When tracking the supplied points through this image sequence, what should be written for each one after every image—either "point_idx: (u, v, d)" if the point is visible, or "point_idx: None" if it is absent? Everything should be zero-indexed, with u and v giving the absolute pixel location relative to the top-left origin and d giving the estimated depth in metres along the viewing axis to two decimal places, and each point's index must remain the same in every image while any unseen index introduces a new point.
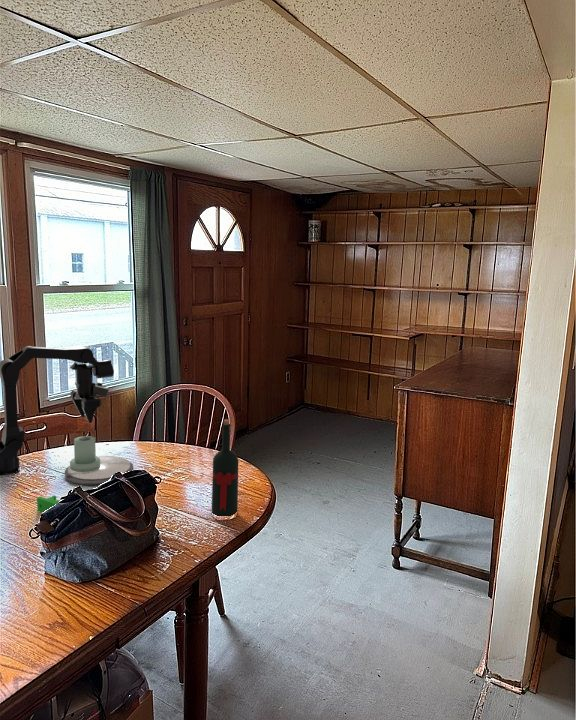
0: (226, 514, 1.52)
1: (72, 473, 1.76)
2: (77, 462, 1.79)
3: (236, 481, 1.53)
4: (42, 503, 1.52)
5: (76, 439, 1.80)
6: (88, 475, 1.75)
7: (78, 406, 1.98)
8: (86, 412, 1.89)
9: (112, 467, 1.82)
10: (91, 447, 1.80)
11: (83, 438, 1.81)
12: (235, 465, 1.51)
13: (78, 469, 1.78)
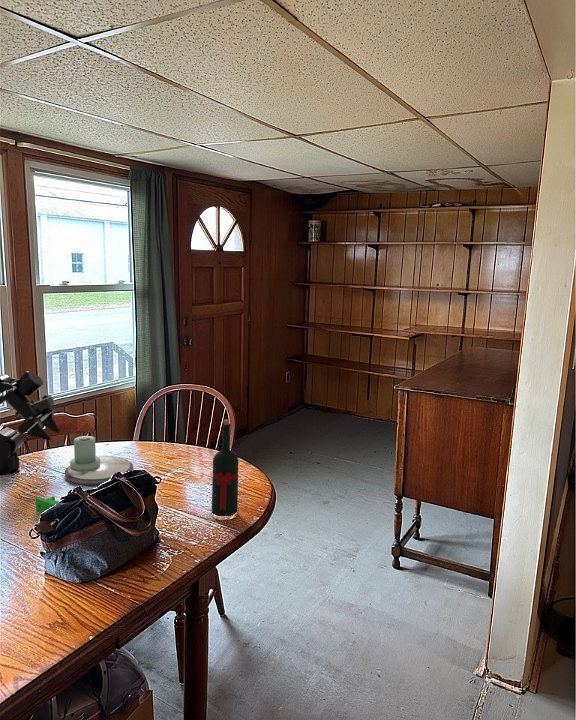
0: (226, 514, 1.52)
1: (72, 473, 1.76)
2: (77, 462, 1.79)
3: (236, 481, 1.53)
4: (41, 504, 1.51)
5: (76, 439, 1.80)
6: (88, 475, 1.75)
7: (47, 426, 1.84)
8: (34, 434, 1.74)
9: (112, 467, 1.82)
10: (91, 447, 1.80)
11: (83, 438, 1.81)
12: (235, 465, 1.51)
13: (78, 469, 1.78)
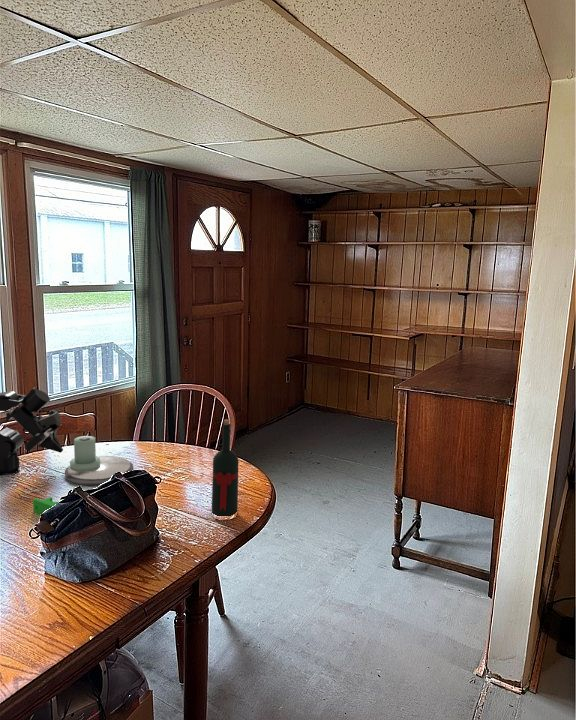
0: (226, 514, 1.52)
1: (72, 473, 1.76)
2: (77, 462, 1.79)
3: (236, 481, 1.53)
4: (38, 505, 1.51)
5: (76, 439, 1.80)
6: (88, 475, 1.75)
7: None
8: (46, 447, 1.79)
9: (112, 467, 1.82)
10: (91, 447, 1.80)
11: (83, 438, 1.81)
12: (235, 465, 1.51)
13: (78, 469, 1.78)
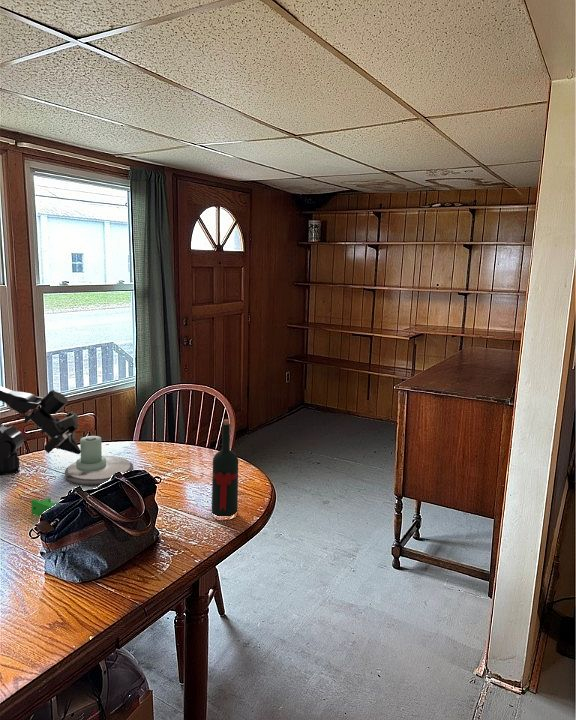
0: (226, 514, 1.52)
1: (72, 473, 1.76)
2: (83, 462, 1.79)
3: (236, 481, 1.53)
4: (36, 506, 1.50)
5: (82, 439, 1.81)
6: (88, 475, 1.75)
7: None
8: (65, 449, 1.79)
9: (112, 467, 1.82)
10: (98, 446, 1.80)
11: (89, 438, 1.81)
12: (235, 465, 1.51)
13: (85, 469, 1.78)
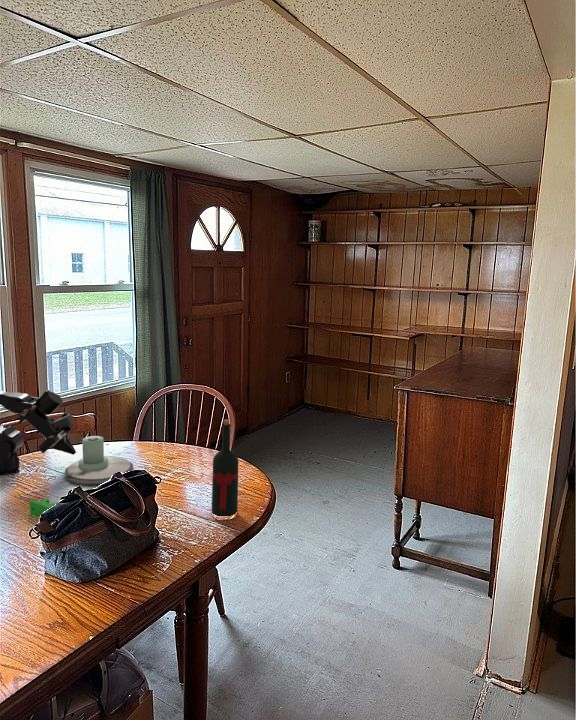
0: (226, 514, 1.52)
1: (72, 473, 1.76)
2: (86, 462, 1.79)
3: (236, 481, 1.53)
4: (35, 506, 1.50)
5: (84, 439, 1.81)
6: (88, 475, 1.75)
7: None
8: (59, 449, 1.79)
9: (112, 467, 1.82)
10: (100, 447, 1.80)
11: (91, 438, 1.82)
12: (235, 465, 1.51)
13: (87, 469, 1.78)
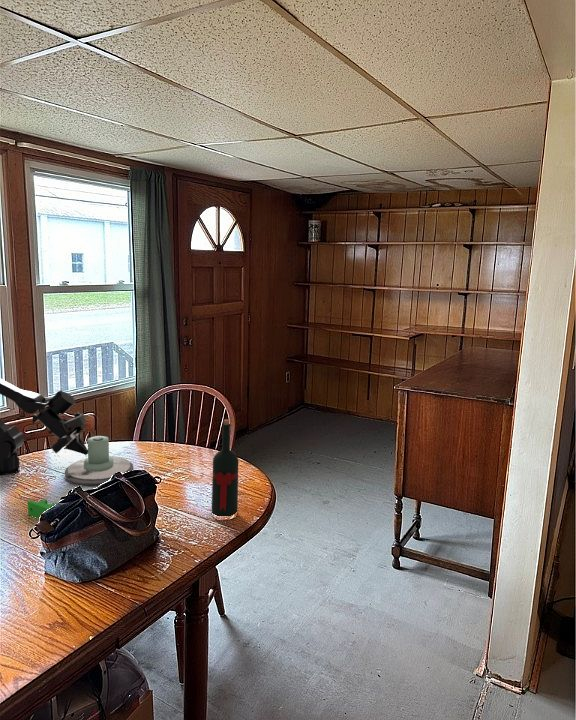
0: (226, 514, 1.52)
1: (72, 473, 1.76)
2: (91, 462, 1.80)
3: (236, 481, 1.53)
4: (33, 507, 1.49)
5: (90, 439, 1.81)
6: (88, 475, 1.75)
7: None
8: (72, 449, 1.80)
9: (112, 467, 1.82)
10: (105, 447, 1.80)
11: (96, 438, 1.82)
12: (235, 465, 1.51)
13: (92, 469, 1.78)
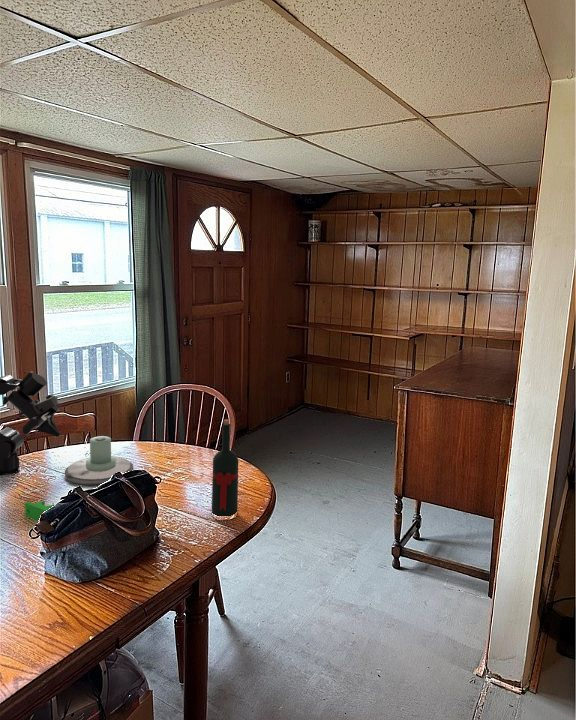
0: (226, 514, 1.52)
1: (72, 473, 1.76)
2: (93, 462, 1.80)
3: (236, 481, 1.53)
4: (30, 508, 1.48)
5: (92, 439, 1.81)
6: (88, 475, 1.75)
7: None
8: (44, 431, 1.78)
9: None
10: (107, 447, 1.80)
11: (99, 438, 1.82)
12: (235, 465, 1.51)
13: (94, 469, 1.78)
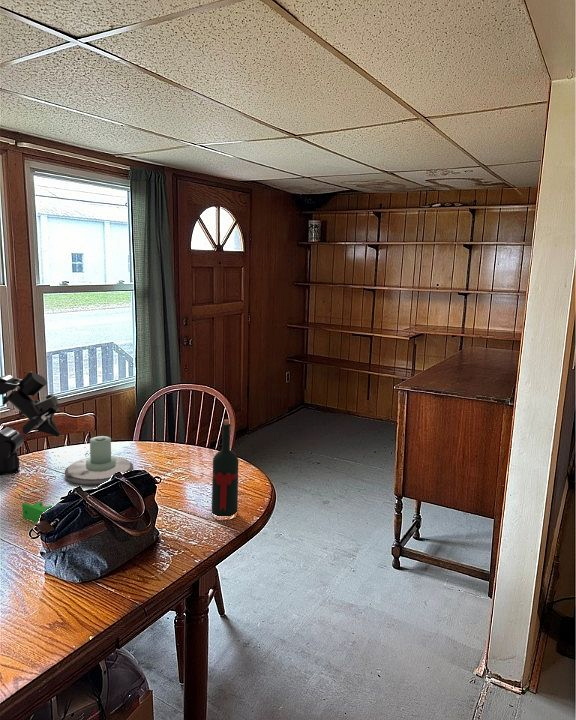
0: (226, 514, 1.52)
1: (72, 473, 1.76)
2: (93, 462, 1.80)
3: (236, 481, 1.53)
4: (28, 510, 1.48)
5: (92, 439, 1.81)
6: (88, 475, 1.75)
7: None
8: (43, 431, 1.78)
9: None
10: (107, 447, 1.80)
11: (99, 438, 1.82)
12: (235, 465, 1.51)
13: (94, 469, 1.78)
